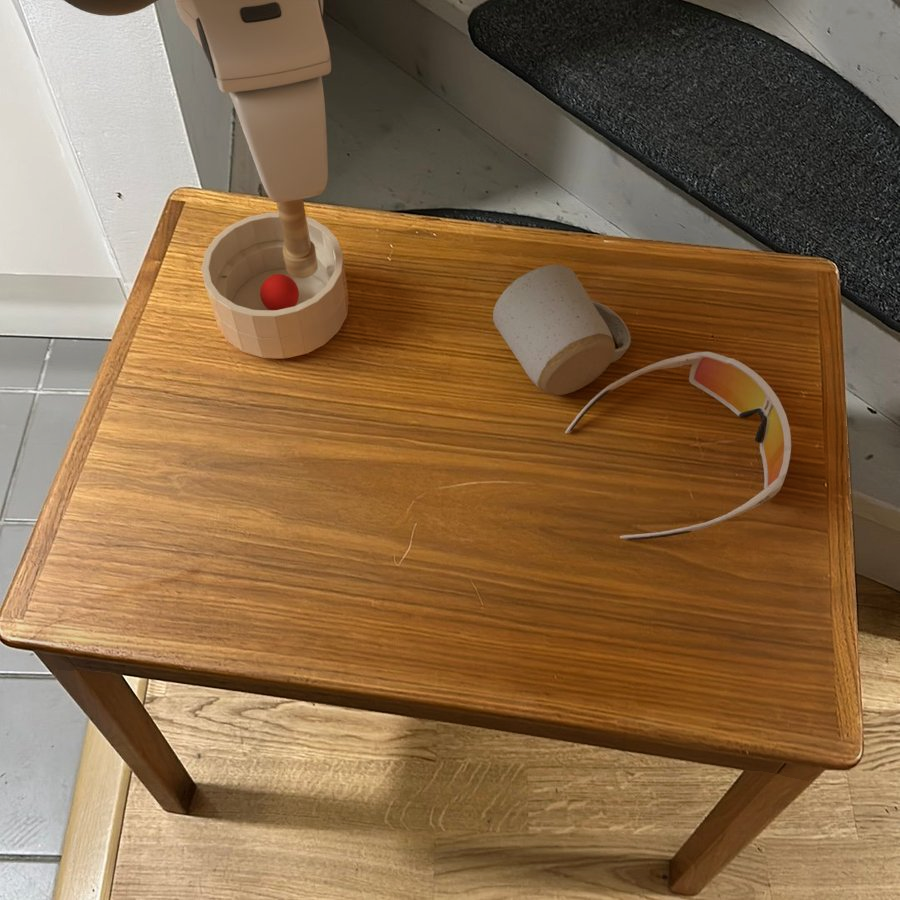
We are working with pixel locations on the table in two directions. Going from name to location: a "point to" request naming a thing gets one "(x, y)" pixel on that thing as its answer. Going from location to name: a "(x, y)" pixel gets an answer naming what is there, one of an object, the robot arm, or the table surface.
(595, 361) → the ceramic mug
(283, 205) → the stir stick
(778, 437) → the sunglasses
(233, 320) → the bowl
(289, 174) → the robot arm
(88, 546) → the table surface
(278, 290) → the red ball
